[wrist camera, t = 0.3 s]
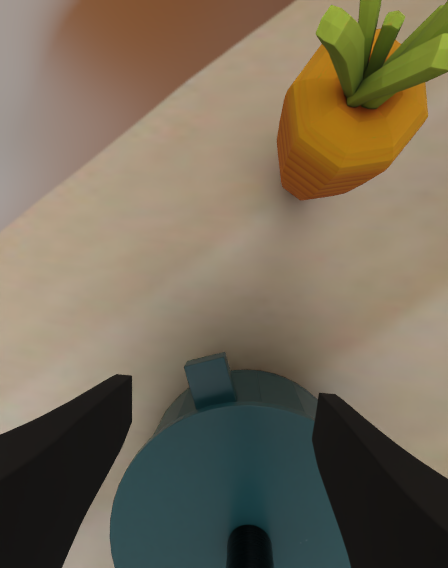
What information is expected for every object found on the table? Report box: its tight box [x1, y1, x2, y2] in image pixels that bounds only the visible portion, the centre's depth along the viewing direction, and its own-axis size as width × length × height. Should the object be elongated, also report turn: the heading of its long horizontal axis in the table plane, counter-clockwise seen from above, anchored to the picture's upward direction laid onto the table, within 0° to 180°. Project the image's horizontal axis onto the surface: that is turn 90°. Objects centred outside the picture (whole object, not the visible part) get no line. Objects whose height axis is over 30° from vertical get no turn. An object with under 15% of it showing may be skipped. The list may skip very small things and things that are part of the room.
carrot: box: [277, 0, 448, 200], centre depth 13 cm, size 5×5×15 cm
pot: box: [153, 352, 318, 436], centre depth 19 cm, size 15×20×6 cm
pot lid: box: [110, 401, 351, 568], centre depth 14 cm, size 16×16×4 cm
